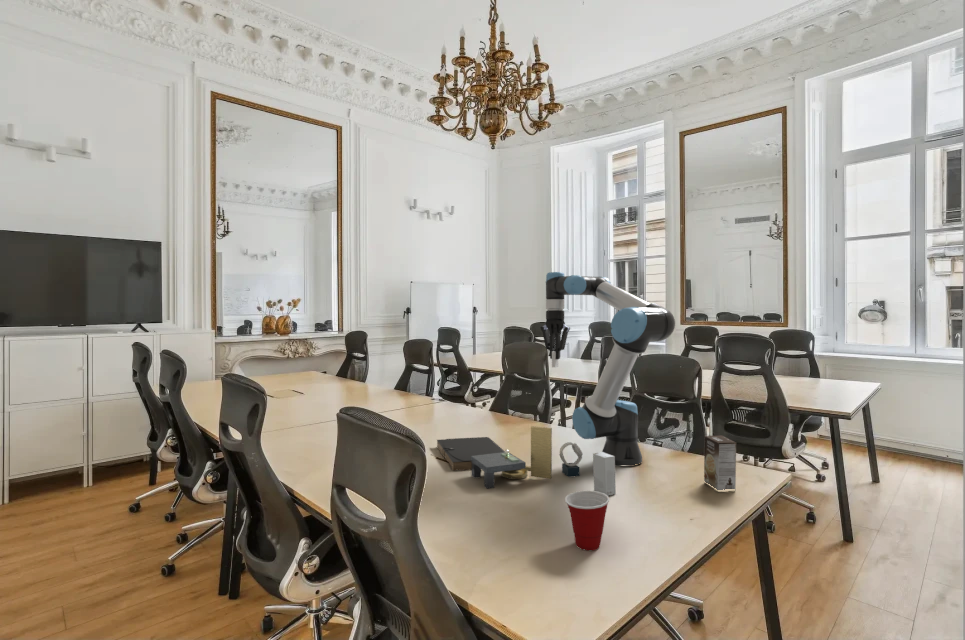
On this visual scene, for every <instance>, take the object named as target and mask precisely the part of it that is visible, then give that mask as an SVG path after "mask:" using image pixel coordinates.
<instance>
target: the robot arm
mask: <svg viewBox="0 0 965 640" xmlns="http://www.w3.org/2000/svg"><path fill="white" fill-rule="evenodd" d="M574 295H575V296H593V297H595V298H596V299H599V300H601V301H602V302H604V303H606V304H607V305H609V306H611V307H613V308H615V309H616V310H618V311H617V312H616V313H615V314H614V316H613V317H612V320H611V323H610V328H611V329H610V332H611V336H612V339H611V340H612V341H613V344H614V345H613V346H612V349H611V352H610V354H609V356H608V359H607V361H606V363H605V366H604V368H603V370H602V372H601V375H600V377H599V379H598V382H597V384H596V385H595V388H594V391H593V393H592V395H590V396H588V397H586V398H585V400H584V404H583V406H582V407H581V406H579V407H576V408H575V409H574V410H573V412H572V416H571V417H572V418H571V421H572V424H573V425H572V426H573V428H574V430H575V432H576V434H577V435H578V436H579V437H580V438H582V439H584V440H595V439H599V438H605V443H604V444H603V448H602V450H601V452H604V453H607V454H610V455H612V456H615V466H616V465H635V464H639V463H641V462H642V463H643V455H642V451H641V448H640V446H639V443H638V442H639V441H638V428H639V427H638V425H639V424H638V423H639V413H638V412H639V411H638V406H637V403H635V402H632V401H627V400H620V399H619V397H620V395H621V393H622V392H623V389H624V387H625V384H626V382H627V380H628V378H629V375H630V374H631V371H632V369H633V367H634V365H635V363H636V361H637V358H638V356H639V355H641V354H644V353H645V352H646V351H647V348H648V347H649V344H650V343H652V342H662V341H664V340H667V339H668V338H669V337H671V335H672V334H673V333H674V330H675V329H676V320H675V317H674V315H673V313H672V312H671V311H670V310H669V309H668V308H666V307H664V306H662V305H660V304H658V303H656V302H648V301H646V300H643V299H642V298H640V297H638V296H636V295H634V294H632V293H630V292H628V291H626V290H624V289H622V288H620V287H618V286H616V285H614V284H612V282H611V281H610V279H609V278H608V277H605V276H584V275H578V274H574V275H573V274H572V275H567V276H565V273H564V272H562V271H552V272H551V271H550V272H547V273H546V278H545V309H546V311H545V319H546V320H545V324H544V325H542V326H540V330H541V332H542V335H543V341H544V345H545V346H544V347H545V349H546V350H548V351H549V359H551V368H558V367H559V360H560V359H561V351H563V350H565V347H566V345H567V344H566V343H567V340H568V339H567V338H568V334H569V332H570V330H571V327H570V326H567V325H566V322H565V311H564V309H565V296H574ZM562 330H563V331H562ZM642 463H641V464H642Z"/></svg>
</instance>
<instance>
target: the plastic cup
mask: <svg viewBox="0 0 965 640" xmlns="http://www.w3.org/2000/svg"><path fill="white" fill-rule="evenodd" d="M610 500H611V499H610V497H609V496H607V495H606V494H604V493H601V492H597V491H595V490H579V491H574V492H571V493H568V494H567V495H566V496H565V497H564V501H565V504H566V505H567V506H568V507H567V508H568V511H569V514H570V518H571V519H570V520H571V524H572V532H573V536H574V542H575V546H576V545H577V546H578V547H579V548H578V547H577V546H576V547H577V548H578V549H580V548H581V549H580V550H583V549H585V550H584V551H589V550H592V551H596V550H599V548H600V546H601V542H602V537H603V533H604V532H603V531H604V527H605V526H604V525H605V520H606V519H605V518H606V513H607V509H608V504H609V502H610Z"/></svg>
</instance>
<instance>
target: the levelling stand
mask: <svg viewBox="0 0 965 640" xmlns="http://www.w3.org/2000/svg"><path fill="white" fill-rule="evenodd" d="M471 462H472V469H471V477H472V478H473V479H477V478H478V479H479V478H482V471H483V480H484V481H483V487H484V488H485V489H487V490H489V489H494V488H495V473H502V471H510V470H517V469H525V468H526V466H527V465H526V461H524V460H522V459H521V458H519V457H517V456H515V455H513V454H512V453H510V450H509V449H505V450H504V452H501V453H493V454H484V455H476V456H471Z"/></svg>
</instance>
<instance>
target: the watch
mask: <svg viewBox="0 0 965 640" xmlns="http://www.w3.org/2000/svg"><path fill="white" fill-rule="evenodd" d="M568 446H571V447H572V448H571V449H572V450H573V452H574V453H575V455H576V456H577V459H576V460H575V461H574V462H567V460H566V459H565V456H564V450H565V448H567V447H568ZM558 455H559V457H560V460H561V461H562V464H561V473H562V474H564V475H565V476H566V477H567V478H573V477H574V476H575V477H580V476H581V475H580V469H581V468H580V466H579V464H580V463H581V462H582V459H583V451H582V450H581V448H580V447H579V445H578V444H577V443H576V442H574V443H573V442H571V441H569V442H565V443H564V444H562V445H561V446H560V449H559V454H558Z"/></svg>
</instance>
